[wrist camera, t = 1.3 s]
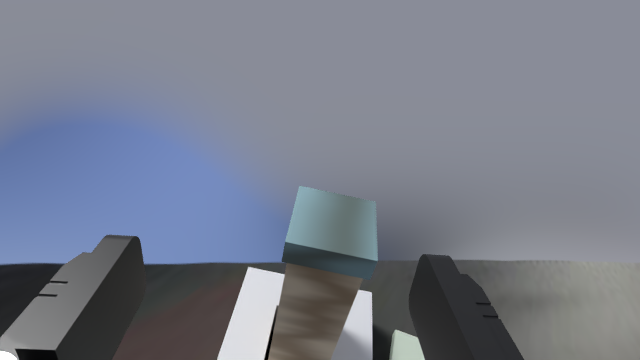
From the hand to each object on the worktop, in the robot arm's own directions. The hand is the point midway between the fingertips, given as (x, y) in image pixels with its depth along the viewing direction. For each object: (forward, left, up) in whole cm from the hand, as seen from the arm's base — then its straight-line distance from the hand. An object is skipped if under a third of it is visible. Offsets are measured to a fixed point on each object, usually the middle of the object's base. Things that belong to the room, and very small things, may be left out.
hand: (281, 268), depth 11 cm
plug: (+1, +9, -23) cm, 25 cm away
